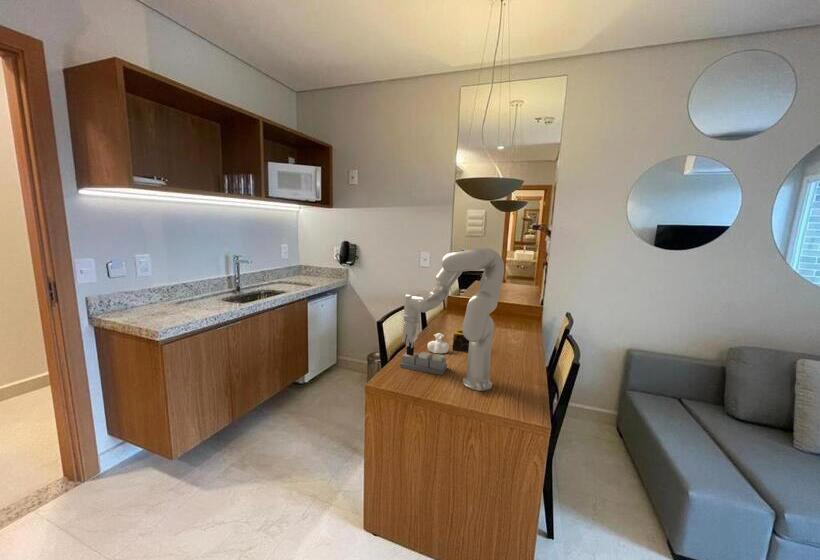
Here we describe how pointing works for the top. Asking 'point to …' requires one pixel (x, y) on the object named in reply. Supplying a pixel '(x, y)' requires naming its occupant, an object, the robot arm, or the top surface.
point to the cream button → (424, 355)
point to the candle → (460, 341)
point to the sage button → (438, 358)
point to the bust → (438, 345)
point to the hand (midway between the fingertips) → (410, 354)
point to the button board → (423, 364)
